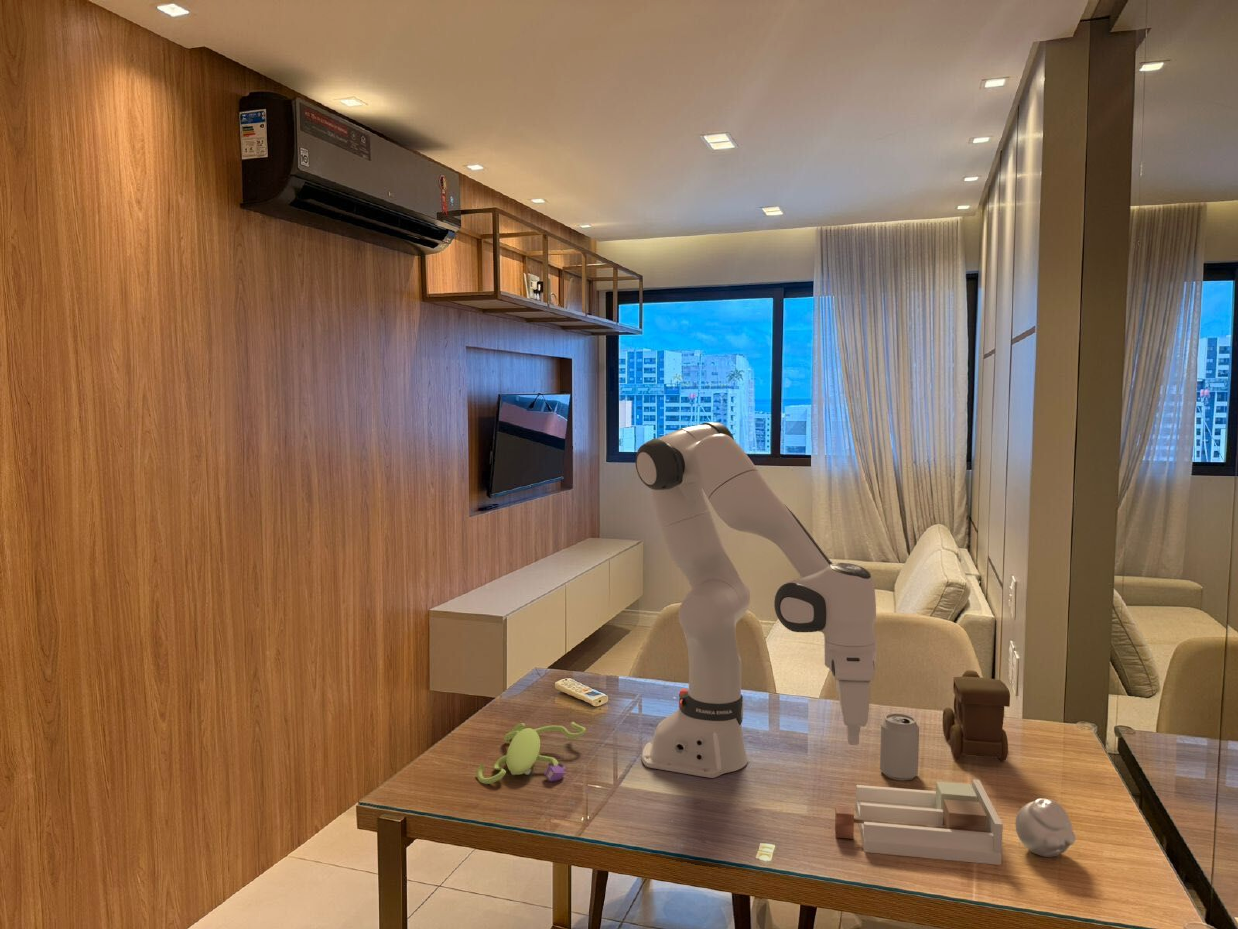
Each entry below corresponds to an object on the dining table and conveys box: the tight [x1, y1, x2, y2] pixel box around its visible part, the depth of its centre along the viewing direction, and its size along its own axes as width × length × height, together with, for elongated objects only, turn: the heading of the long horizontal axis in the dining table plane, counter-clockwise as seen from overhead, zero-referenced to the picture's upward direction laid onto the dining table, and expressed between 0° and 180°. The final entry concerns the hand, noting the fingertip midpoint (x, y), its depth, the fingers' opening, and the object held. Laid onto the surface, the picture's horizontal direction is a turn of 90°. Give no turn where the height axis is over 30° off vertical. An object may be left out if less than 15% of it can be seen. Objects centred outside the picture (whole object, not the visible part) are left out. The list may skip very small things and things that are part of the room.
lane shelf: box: [855, 778, 1004, 866], centre depth 153 cm, size 22×17×7 cm
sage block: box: [935, 781, 977, 809], centre depth 156 cm, size 6×5×5 cm
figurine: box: [476, 721, 587, 785], centre depth 184 cm, size 18×27×6 cm
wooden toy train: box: [942, 669, 1011, 763], centre depth 190 cm, size 20×11×17 cm, turn 168°
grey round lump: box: [1014, 797, 1076, 858], centre depth 146 cm, size 9×10×10 cm
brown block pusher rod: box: [834, 799, 987, 840], centre depth 150 cm, size 24×5×7 cm, turn 80°
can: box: [879, 712, 920, 781], centre depth 177 cm, size 8×8×12 cm
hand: (850, 733), depth 153 cm, fingers open, 8 cm apart
